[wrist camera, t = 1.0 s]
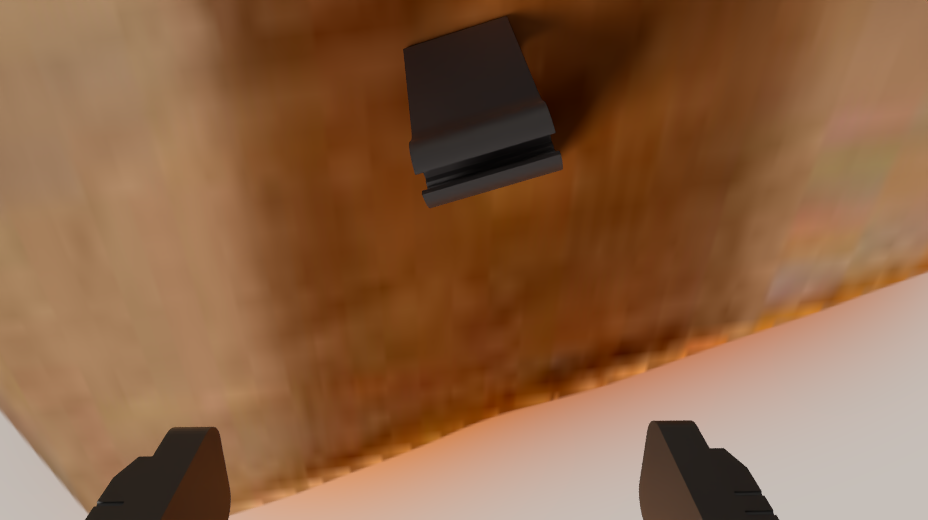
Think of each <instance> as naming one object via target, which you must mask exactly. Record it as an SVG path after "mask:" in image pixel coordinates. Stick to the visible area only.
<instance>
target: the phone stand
mask: <svg viewBox="0 0 928 520" xmlns="http://www.w3.org/2000/svg"><path fill="white" fill-rule="evenodd" d="M403 51H404V61H405V71H406V80H407V90H408V100H409V110H410V120H411V129H412V140H411V141H410V142H409V149H410V155H411V160H412V164H413V168H414V172H415V174H416V175H417V174H420V173H424V175H425V178H426V184H427V188H428V189H427V190H424V191H422V195H423V198H424V200H425V202H426V204H427V206H428V207H429V208H432V207H436V206H439V205H443V204H446V203H449V202H453V201H456V200H460V199H463V198H466V197H470V196H473V195H477V194H480V193H484V192H487V191H490V190H494V189H497V188H501V187H504V186H508V185H511V184H514V183H518V182H521V181H525V180H528V179H532V178H535V177H538V176H542V175H545V174H549V173H552V172H556V171H559V170H562V169H563V165H562V158H561V154H560V151H556V152H555V150H554V147H553V144H552V141H551V136H550V135H551V134H554V133H555V129H554V126H553V122H552V119H551V116H550V113H549V110H548V107H547V105H546V103H545V101H543V100H542V99H541V97H540V95H539V93H538V90H537V88H536V86H535V83H534V81H533V78H532V76H531V74H530V71H529V69H528V66H527V64H526V61H525V59H524V57H523V54H522V52H521V49H520V47H519V45H518V42H517V40H516V37H515V35H514V32H513V30H512V28H511V25H510V23H509V20H508V18H507V16H505V17H502V18H499V19H496V20H493V21H489V22H486V23H483V24H480V25H477V26H474V27H471V28H467V29H464V30H461V31H458V32H455V33H452V34H449V35H446V36H442V37H439V38H436V39H433V40H430V41H427V42H424V43H421V44H417V45H414V46H411V47H408V48H405V49H403Z"/></svg>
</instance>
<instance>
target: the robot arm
mask: <svg viewBox="0 0 928 520" xmlns="http://www.w3.org/2000/svg"><path fill="white" fill-rule="evenodd" d="M639 499H640V507H641V512H642V517H643V520H779V519H778V517H777V516H776V515H774V514H773V509H772V507H771V506H770V504H769V503H768V501H767V499H766V498H765V496H762V494H761V490H760V488H759V486H758V485H757V483H756V481H755V480H754V478H753V477H752V475H751V473H750V472H749V470H748V468H747V467H745V466H744V465H743V464H742V463H741V462H740V461H738V460H737V459H736V458H735V457H733V456H732V455H731V454H730V453H729V452H728V451H726V450H725V449H724V448H713V449H711V448H709V447H708V445H707V443H706V442H705V440H704V438H703V436H702V434H701V433H700V431H699V429H698V427H697V425H696V424H695V423H694V422H693V421H651V423H650V424H649V426H648V430H647V436H646V443H645V450H644V456H643V463H642V470H641V476H640V484H639ZM230 502H231V495H230V487H229V481H228V476H227V471H226V465H225V460H224V455H223V449H222V444H221V438H220V434H219V431H218V430H217V428H216V427H174V428H171V429H170V430H169V431H168V433H167V434H166V435H165V437H164V439H163V440H162V442H161V444H160V445H159V447H158V448H157V450H156V452H155V453H154V455H153V456H152V457H138V458H137V459H136V460H134V461H133V462H132V463H131V464H129V465H128V466H127V467H126V468H125V469H123V470H122V471H121V472H120V473H118V474H117V475H116V476H115V477H114V478H113V479H112V480H111V482H110V483H109V485H108V486H107V488H106V489H105V491H104V492H103V494H102V495H101V497H100V498H99V500H98V501H97V506H96V507H93V509H92V510H91V512H90V513H89V515H88V516H87V518H86V519H85V520H228V518H229V512H230Z"/></svg>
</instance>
